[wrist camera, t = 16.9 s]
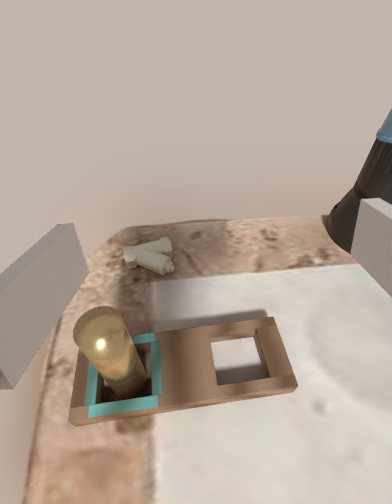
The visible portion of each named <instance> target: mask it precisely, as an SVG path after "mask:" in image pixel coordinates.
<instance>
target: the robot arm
mask: <svg viewBox="0 0 392 504" xmlns="http://www.w3.org/2000/svg"><path fill="white" fill-rule="evenodd" d="M376 136H377V137H376V140H375V142H374V144H373V147H372V149H371V151H370V153H369V155H368V157H367V159H366V162H365V164H364V166H363V168H362V170H361V172H360V174H359V176H358V179H357V181H356V183H355V185H354V187H353V188H352V189H351V190H350V191H349V192H348V193H347V194H346V195H345V196H344V197H343V199H342V200H341V201H340V202H339V203H338V204H336V205H335V207H334V208H333V209H332V211H331V213H330V215H329V217H328V220H327V230H328V232H329V234H330V236H331V238H332V239H333V240H334V241H335V242H336V243H337V244H338V245H339V246H340V247H341V248H343V249H344V250H346V251H347V252H349V253H350V254H351V255H352V256H353V257H354V258H355V259H356V260H357V261H358V262H359V263H360V264H361V266H362V267H363V268H364V269H365V270H366V271H367V272H368V273H369V274H370V275H371V276H372V277H373V278H374V279H375V280H376V281H377V282H378V284H379V285H380V286H381V287H382V288H383V289H384V290H385V291H386V292H387V293H388V294H389V295H390V296H391V297H392V109H391V111H390V112H389V114H388V116H387V118H386V120H385V121H384V123H383V125H382V127H381V128H380V129H379V130H378V132H377V134H376ZM88 273H89V270H88V267H87V264H86V261H85V258H84V255H83V252H82V249H81V246H80V243H79V240H78V237H77V234H76V230H75V227H74V224H73V223H69V224H57V225H56V226H55V227H54V228H53V229H52V230H50V231H49V232H48V233H47V234H46V235H45V236H44V237H42V238H41V239H40V240H39V241H38V242H37V243H36V244H35V245H33V246H32V247H31V248H30V249H29V250H28V251H26V252H25V253H24V254H23V255H22V256H21V257H19V258H18V259H17V260H16V261H15V262H14V263H13V264H11V265H10V266H9V267H8V268H7V269H6V270H5V271H4V272H2V273H1V274H0V390H2V389H14V387H15V386H16V384H17V383H18V381H19V379H20V378H21V376H22V375H23V373H24V372H25V370H26V369H27V367H28V366H29V364H30V363H31V361H32V359H33V358H34V356H35V355H36V353H37V351H38V350H39V349H40V347H41V346H42V344H43V343H44V341H45V339H46V338H47V336H48V335H49V333H50V332H51V330H52V329H53V327H54V326H55V324H56V323H57V321H58V320H59V318H60V317H61V315H62V313H63V312H64V310H65V309H66V307H67V306H68V304H69V303H70V301H71V300H72V298H73V297H74V295H75V293H76V292H77V290H78V289H79V287H80V286H81V284H82V283H83V281H84V280H85V278H86V277H87V275H88Z"/></svg>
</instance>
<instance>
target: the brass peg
mask: <svg viewBox="0 0 392 504" xmlns="http://www.w3.org/2000/svg"><path fill="white" fill-rule="evenodd" d="M73 338H74V341H75V343H76V344H77V346H78V347H79V348H80V349H81V351H82V352H83V353H84V354H85V356H86V357H87V358H88V359H89V361H90V362H91V363H92V364H93V366H94V367H95V368H96V369H97V371H98V372H99V373H100V374H101V376H102V377H103V378H104V379H105V381H106V382H107V383H108V384H109V386H110V387H111V388H112V389H113V390H114V392H115V393H116V394H117V395H119V396H120V397H124V398H129V397H132V396H135V395H136V394H138V393H139V392H140V391H141V390H142V389H143V387H144V385H145V383H146V378H147V376H146V371H145V368H144V366H143V364H142V362H141V359H140V357H139V355H138V353H137V350H136V348H135V346H134V344H133V341H132V339H131V337H130V335H129V332H128V330H127V328H126V326H125V323H124V321H123V319H122V317H121V315H120V313H119V312H118V311H117V310H116V309H114V308H112V307H108V306H100V307H96V308H93V309H91V310H89V311H87V312H86V313H84V314H83V315H82V316H81V317H80V318H79V319H78V321H77V322H76V324H75V327H74V330H73Z"/></svg>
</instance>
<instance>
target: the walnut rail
mask: <svg viewBox="0 0 392 504" xmlns="http://www.w3.org/2000/svg"><path fill="white" fill-rule="evenodd" d="M253 336H254V339H255V343H256V346H257V350H258V353H259V356H260V360H261V363H262V367H263V370H264V374H265V377H266V379H259V380H252V381H246V382H239V383H233V384H226V385H220V386H218V384H217V379H216V373H215V367H214V362H213V356H212V350H211V345H210V343H211V342H218V341H225V340H232V339H239V338H246V337H253ZM130 337H131V339H132V341H133V344H134V346H135V348H136V350H137V353H140V352H147V351H151V374H152V396H147V397H141V398H134V399H128V400H121V401H114V402H108V403H102V399H103V386H104V378H103V377H102V376H101V374H100V373H99V372H98V371H97V369H96V368H95V367H94V366H93V364H92V363H91V362H90V361H89V359H88V358H87V357H86V356H85V354H84V353H83V352H82V351H81V349H80V348H79V352H78V359H77V365H76V372H75V379H74V385H73V392H72V399H71V405H70V412H69V419H68V422H70V423H71V424H73V425H75V426H81V425H87V424H94V423H100V422H107V421H113V420H119V419H126V418H132V417H138V416H145V415H151V414H157V413H164V412H170V411H176V410H183V409H189V408H195V407H202V406H208V405H214V404H221V403H227V402H233V401H240V400H246V399H253V398H259V397H265V396H272V395H278V394H284V393H291V392H294V390H295V389H296V388H297V387H298V384H297V381H296V378H295V375H294V373H293V370H292V367H291V364H290V362H289V359H288V356H287V353H286V350H285V348H284V345H283V342H282V339H281V337H280V334H279V331H278V328H277V325H276V323H275V320H274V317H267V318H260V319H252V320H245V321H238V322H230V323H223V324H216V325H208V326H201V327H194V328H186V329H179V330H172V331H164V332H157V333H155V332H154V333H147V334H140V335H132V336H130Z"/></svg>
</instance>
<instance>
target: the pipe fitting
mask: <svg viewBox="0 0 392 504" xmlns="http://www.w3.org/2000/svg"><path fill="white" fill-rule="evenodd" d="M122 250H123V255H124V259H125V262H126V265H127V268H128V269H131V268H135V267H137V265H140V266H142V267H144V268H146V269H149V270H151V271H153V272H156V273H158V274H160V275H163V276H164V275H165V274H166V273H170V272H173V271H174V269H175V267H174V266H173V262H172V258H173V249H172V245H171V242H170V239H169V237H167V236H165V237H161V238H159V240H156V241H152V242H148V243H144V244H140V245H136V246H131V245H129V246H125V247H123V248H122Z"/></svg>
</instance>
